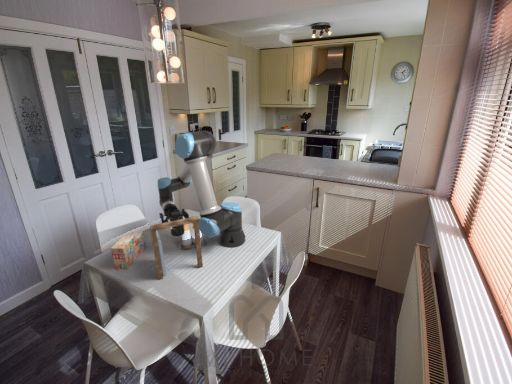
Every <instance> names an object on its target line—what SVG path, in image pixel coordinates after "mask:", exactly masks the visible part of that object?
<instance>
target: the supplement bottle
mask: <svg viewBox="0 0 512 384" xmlns="http://www.w3.org/2000/svg"><path fill="white" fill-rule="evenodd" d="M181 214H182V213H180V212H179V211H174V212H172V213H171V218H170V221H175V220H180V219H183V217H181ZM170 234H171V236H173V237H181V236H183V235H184V234H185V225H180V226H175V227H172V229H170Z"/></svg>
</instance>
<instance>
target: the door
mask: <svg viewBox="0 0 512 384" xmlns="http://www.w3.org/2000/svg"><path fill="white" fill-rule="evenodd" d="M158 231H159V230H157V231H156V234H157V241H158V247H159V254H160V261H161V267H162V274H163V277H164V276H166V275H167V272H166V265H165V258H164V252H163V245H162V240H161V237H160V234H159V232H158Z"/></svg>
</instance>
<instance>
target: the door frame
mask: <svg viewBox="0 0 512 384" xmlns="http://www.w3.org/2000/svg"><path fill="white" fill-rule="evenodd" d="M199 219H200V218H199V216H197V215H196V216H191V217H190V216H189V218H185V219H180V220H175V221H170V222H165V223H162V222H160V223H157V224H151V225H149V228H150V229H149V230H150V234H151V235H150V236H151V242H152V248H153V254H154V260H155V266H156V267H155V268H156V272H157V279H158V280H163V279H164V276H163V273H162V267H161V261H160V254H159V247H158V241H157V234H156V231H161V230H166V229H170V228H171V227H175V226H180V225H184V226H185V224H187V225H189V224H193V231H194V240H195V241H194V243H195V251H196V261H197V262H196V263H197V267H198V269H200V268H204V266H203V265H204V264H203V263H204V262H203V252H202V244H201V243H202V241H201V231H200V229H199Z"/></svg>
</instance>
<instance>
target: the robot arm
mask: <svg viewBox="0 0 512 384" xmlns="http://www.w3.org/2000/svg"><path fill="white" fill-rule="evenodd" d="M174 147H175V153H176V154H177V156H178V157H179V158H180V159H182V160H183V162H184V163H185V166H184V167H183V168H182V170H181V172H180V173H179V175H178V176H177V177H175V178H174V177H173V178H172V179H171V178H170V177H168V176H166V177H159V178H158V179H157V189H158V195H159V206H160V207H161V210H162V212H163V213H162V212H159V218H160V219H161V220H160V221H161V223H165V222H170V218H171V213H172V212H174V211H179V212H180V213H181V217H183V219H185V218H190V216H189V213H188V212H187V211H186V210H185V209H184V208H182V209H181V210H180V209H179V208H178V207H177V205H176V203H175V202H174V198H173V193H174V192H176V191H180V190H183V189H186V188H188V187H190V186H191V185H192V184H193V185H194V186H193V187H194V188H195V192H196V196H197V198H198V203H199V206H200V209H201V210H200V212H199V216H200V218H198V219H199V230H200V233H201V234H203V235H204V236H205V237H207V238H214V237H217V236H219V235H220V236H219V238H218V240H219V244H220V245H221V246H224V247H226V248H237V247H239V246H242V245H244V244H245V242H246V235H245V232H244V229H243V220H242V218H243V216H242V214H243V213H242V212H243V210H242V206H241V204H239V203H238V202H234V201H233V202H232V201H228V202H223V203H221V204H220V205H218V202H217V198H216V194H215V191H214V188H213V183H212V180H211V176H210V173H209V170H208V166H207V161H206V160H207V158H210V157H211V156H212V155H213V153H214V152H215V150H216V148H217V140H216V137H215V136H214V134H213V133H212V132H210V131H207V130H199V131H198V130H197V131H194V132H193V131H192V132H191V131H190V132H186V133H181V134H180V135H178V136H177V138H176V140H175V145H174ZM164 218H165V219H164ZM187 226H188V224H185V225H184V227H187ZM169 229H170V230H171V229H172V227H171V228H169Z"/></svg>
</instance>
